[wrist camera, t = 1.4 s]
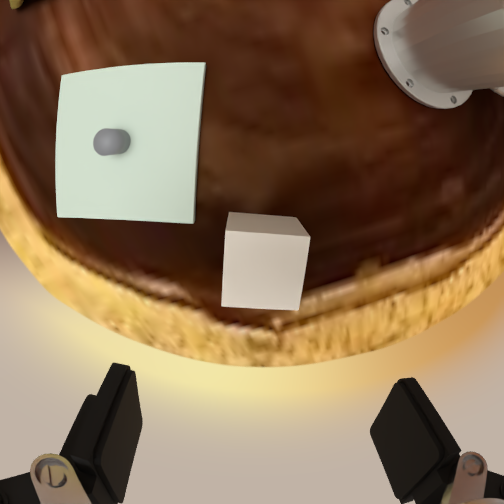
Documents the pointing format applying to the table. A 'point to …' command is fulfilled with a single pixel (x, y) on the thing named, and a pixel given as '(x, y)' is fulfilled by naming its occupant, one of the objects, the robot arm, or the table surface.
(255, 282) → the off-white plain cube
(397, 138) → the table surface
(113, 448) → the robot arm
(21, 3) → the plastic component
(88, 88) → the stub plate
